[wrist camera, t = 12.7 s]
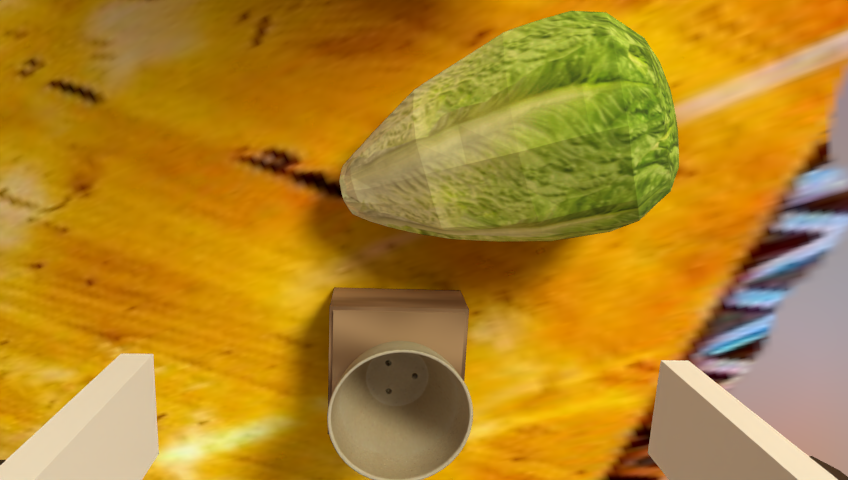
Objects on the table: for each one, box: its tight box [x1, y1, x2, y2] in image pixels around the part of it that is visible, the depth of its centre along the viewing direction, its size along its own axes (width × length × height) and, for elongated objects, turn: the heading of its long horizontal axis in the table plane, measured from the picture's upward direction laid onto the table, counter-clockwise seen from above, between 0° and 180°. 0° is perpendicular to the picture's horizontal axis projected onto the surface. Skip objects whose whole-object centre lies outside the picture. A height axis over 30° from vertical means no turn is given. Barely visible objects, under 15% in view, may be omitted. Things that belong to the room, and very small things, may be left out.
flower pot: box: [327, 341, 473, 480], centre depth 43 cm, size 10×10×7 cm
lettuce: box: [339, 11, 679, 242], centre depth 43 cm, size 15×24×16 cm
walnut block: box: [328, 288, 469, 434], centre depth 49 cm, size 11×11×5 cm
